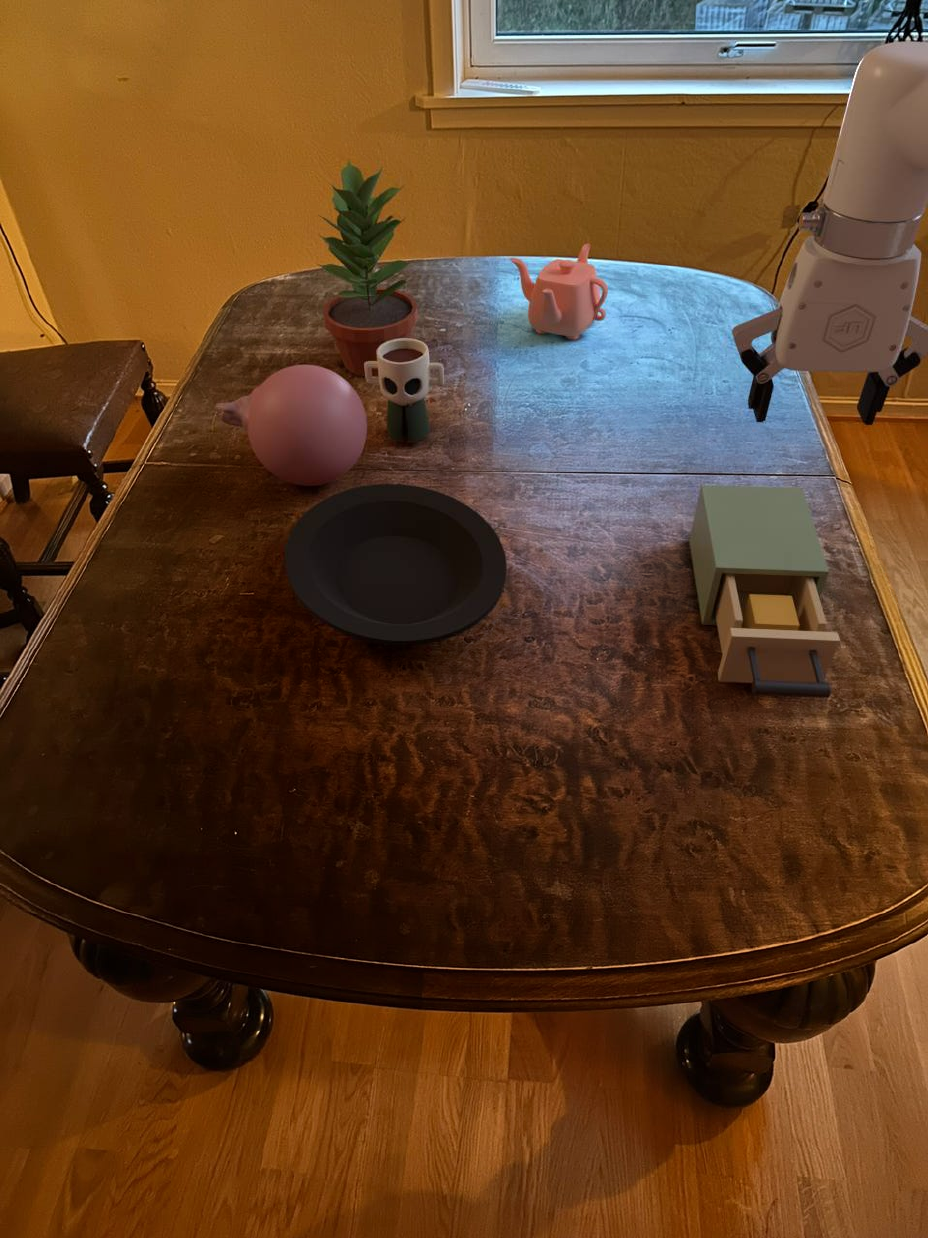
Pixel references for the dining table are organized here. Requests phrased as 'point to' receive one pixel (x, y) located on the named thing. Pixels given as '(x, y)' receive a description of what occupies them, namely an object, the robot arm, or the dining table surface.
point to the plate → (395, 564)
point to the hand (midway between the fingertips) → (810, 415)
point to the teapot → (564, 296)
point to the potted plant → (365, 275)
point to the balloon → (302, 424)
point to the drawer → (774, 638)
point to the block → (770, 613)
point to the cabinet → (752, 538)
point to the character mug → (405, 385)
